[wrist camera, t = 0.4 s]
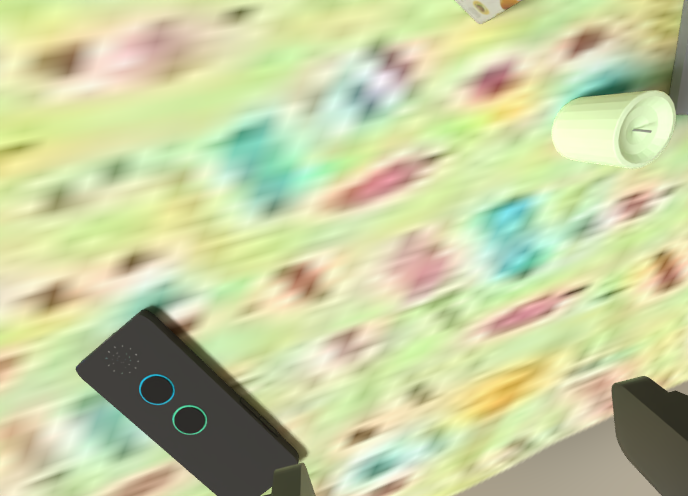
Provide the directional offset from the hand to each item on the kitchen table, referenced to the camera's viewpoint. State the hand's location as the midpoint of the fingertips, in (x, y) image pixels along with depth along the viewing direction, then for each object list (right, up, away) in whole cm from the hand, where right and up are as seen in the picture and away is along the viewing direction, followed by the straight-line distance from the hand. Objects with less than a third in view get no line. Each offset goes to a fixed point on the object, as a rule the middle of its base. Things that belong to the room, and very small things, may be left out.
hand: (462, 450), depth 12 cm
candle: (+16, +15, +26) cm, 34 cm away
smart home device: (-16, -9, +30) cm, 36 cm away
